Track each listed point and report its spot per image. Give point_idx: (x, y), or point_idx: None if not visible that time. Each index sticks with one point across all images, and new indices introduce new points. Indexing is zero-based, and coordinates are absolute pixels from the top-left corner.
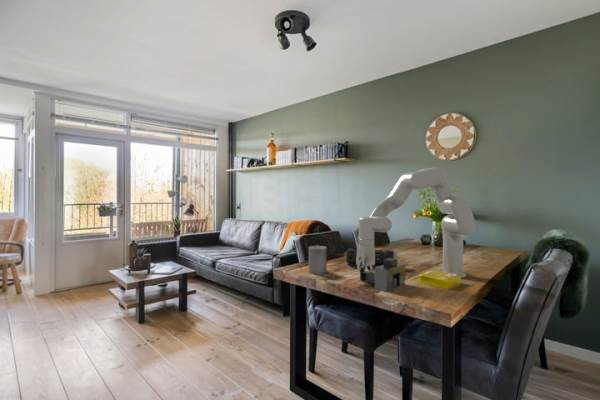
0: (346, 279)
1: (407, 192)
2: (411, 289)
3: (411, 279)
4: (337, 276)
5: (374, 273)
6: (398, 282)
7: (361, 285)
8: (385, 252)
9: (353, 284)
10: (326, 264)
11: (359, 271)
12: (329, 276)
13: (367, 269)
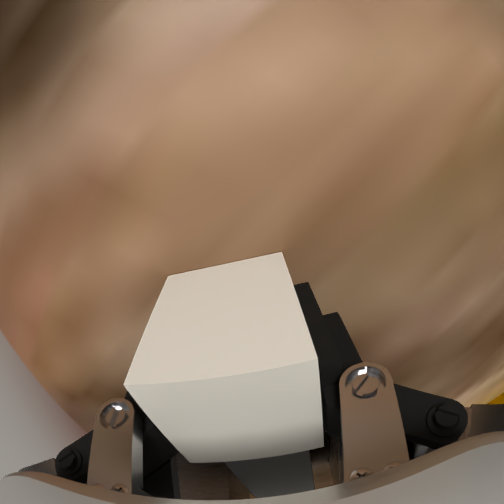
0: (47, 165)
1: None
2: (325, 482)
3: (487, 386)
4: (51, 9)
5: (297, 455)
6: (333, 477)
7: (102, 388)
8: None
9: (50, 341)
10: None
11: (133, 364)
12: (5, 6)
13: (320, 414)
